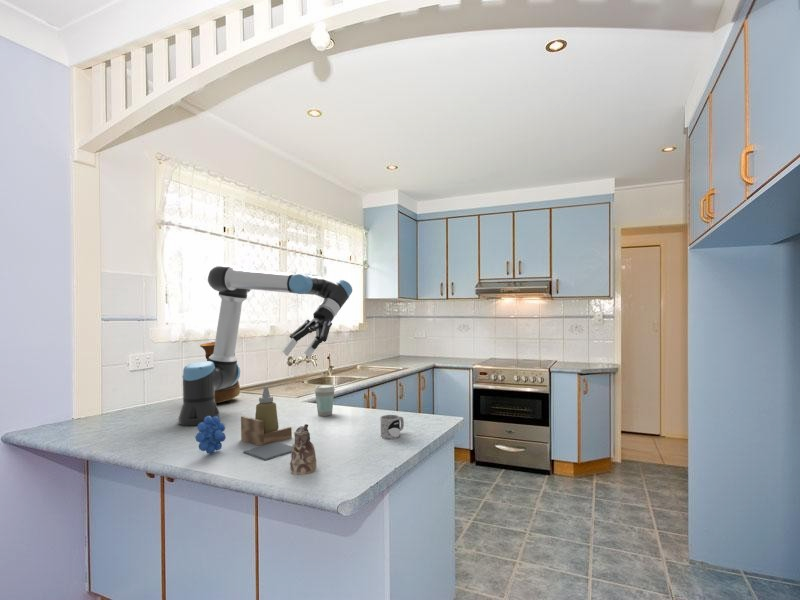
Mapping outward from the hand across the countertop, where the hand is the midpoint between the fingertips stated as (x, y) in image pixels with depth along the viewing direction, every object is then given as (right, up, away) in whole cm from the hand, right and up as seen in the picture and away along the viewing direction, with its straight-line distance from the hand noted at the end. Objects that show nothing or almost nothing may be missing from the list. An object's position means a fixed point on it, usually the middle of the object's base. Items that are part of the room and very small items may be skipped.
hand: (295, 354), depth 161 cm
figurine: (+12, -27, -40) cm, 50 cm away
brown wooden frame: (-8, -28, -10) cm, 31 cm away
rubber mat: (-2, -28, -24) cm, 36 cm away
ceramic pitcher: (-51, -30, +54) cm, 80 cm away
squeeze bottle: (-8, -28, -10) cm, 31 cm away
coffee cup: (+7, -29, +23) cm, 38 cm away
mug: (+36, -27, -8) cm, 46 cm away
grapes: (-19, -28, -26) cm, 43 cm away
